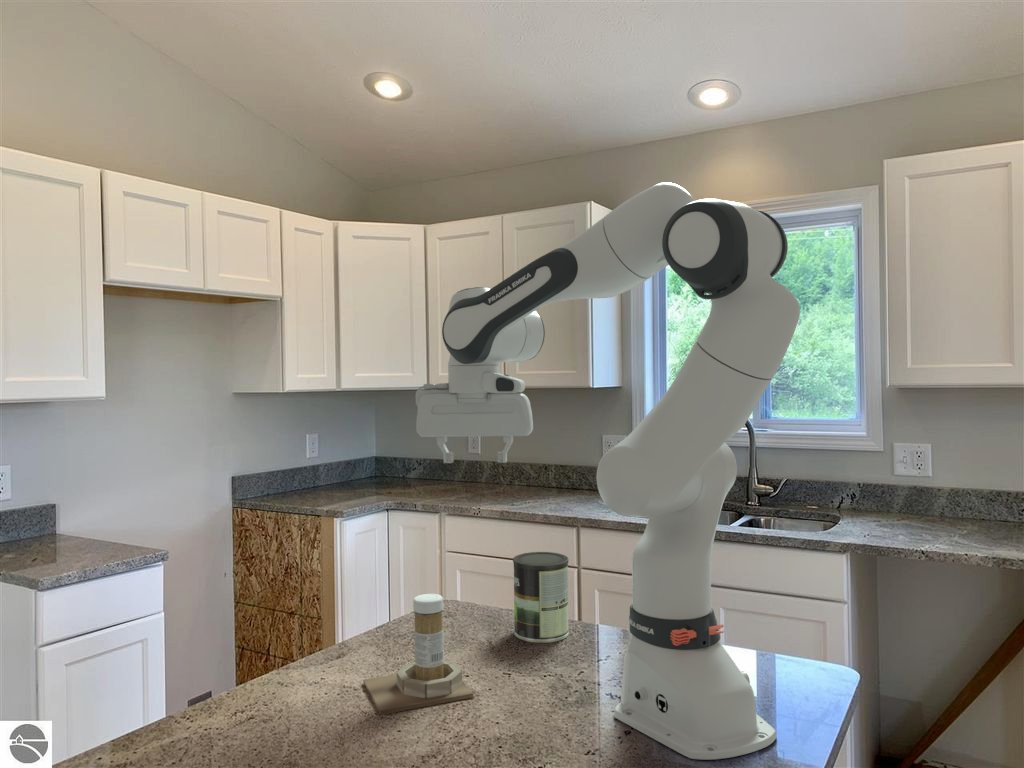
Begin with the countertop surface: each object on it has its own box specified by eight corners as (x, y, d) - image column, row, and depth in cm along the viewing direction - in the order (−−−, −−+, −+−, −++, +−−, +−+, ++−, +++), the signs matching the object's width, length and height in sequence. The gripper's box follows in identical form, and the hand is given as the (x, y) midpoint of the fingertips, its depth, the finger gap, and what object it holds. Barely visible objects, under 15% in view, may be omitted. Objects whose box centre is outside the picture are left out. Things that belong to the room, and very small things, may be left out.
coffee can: (511, 642, 135) (510, 564, 134) (516, 624, 145) (515, 551, 145) (568, 644, 134) (567, 565, 133) (570, 625, 144) (569, 551, 144)
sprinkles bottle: (438, 676, 118) (436, 591, 118) (449, 686, 114) (447, 598, 114) (410, 681, 116) (409, 595, 116) (420, 692, 112) (419, 603, 112)
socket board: (473, 697, 112) (473, 679, 112) (380, 715, 106) (380, 696, 106) (448, 669, 123) (448, 653, 123) (363, 683, 117) (363, 667, 117)
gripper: (410, 383, 128) (412, 464, 128) (529, 381, 125) (531, 464, 125) (419, 383, 134) (421, 460, 134) (533, 381, 132) (534, 460, 132)
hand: (475, 462), depth 130 cm, fingers open, 8 cm apart
